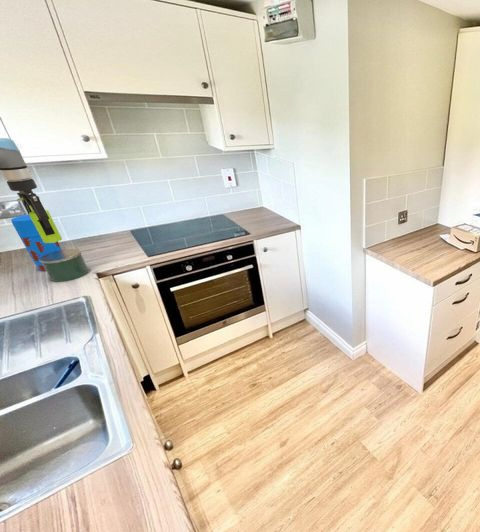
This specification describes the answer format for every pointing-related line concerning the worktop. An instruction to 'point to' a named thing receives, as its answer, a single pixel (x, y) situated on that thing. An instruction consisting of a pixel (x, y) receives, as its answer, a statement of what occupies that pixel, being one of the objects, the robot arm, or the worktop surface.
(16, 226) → the blue spotted box
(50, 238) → the soap dispenser
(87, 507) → the worktop surface
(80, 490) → the worktop surface
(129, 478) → the worktop surface
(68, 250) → the tin
